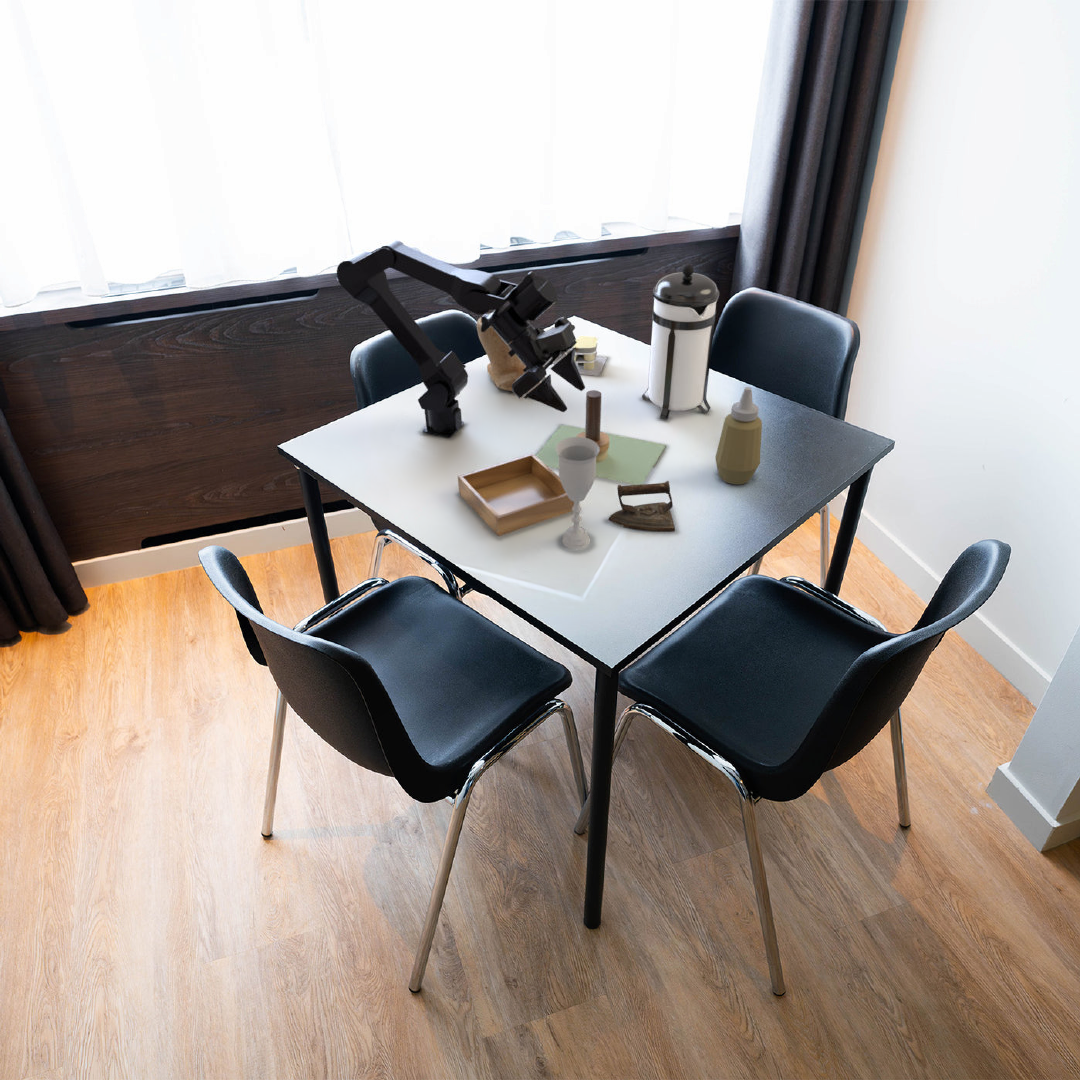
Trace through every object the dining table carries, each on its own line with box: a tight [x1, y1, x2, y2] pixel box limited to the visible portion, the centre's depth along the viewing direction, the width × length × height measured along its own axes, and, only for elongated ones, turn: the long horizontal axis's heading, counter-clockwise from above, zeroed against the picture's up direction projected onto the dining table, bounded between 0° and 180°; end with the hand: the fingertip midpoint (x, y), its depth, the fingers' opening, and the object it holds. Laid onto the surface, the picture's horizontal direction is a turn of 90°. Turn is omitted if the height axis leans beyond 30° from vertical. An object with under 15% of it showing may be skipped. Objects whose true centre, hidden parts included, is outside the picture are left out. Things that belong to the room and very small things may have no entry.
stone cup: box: [476, 312, 526, 392], centre depth 185 cm, size 15×12×15 cm
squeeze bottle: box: [714, 386, 763, 485], centre depth 151 cm, size 8×8×18 cm
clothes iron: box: [608, 480, 676, 533], centre depth 143 cm, size 7×11×10 cm, turn 92°
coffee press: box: [641, 263, 720, 421], centre depth 171 cm, size 17×16×30 cm
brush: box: [576, 389, 609, 463], centre depth 158 cm, size 6×6×13 cm
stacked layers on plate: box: [570, 335, 608, 377], centre depth 194 cm, size 10×9×6 cm
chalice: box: [556, 437, 600, 550], centre depth 135 cm, size 7×7×18 cm
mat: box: [535, 424, 667, 485], centre depth 163 cm, size 22×16×1 cm
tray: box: [457, 452, 574, 537], centre depth 149 cm, size 15×15×4 cm
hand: (574, 399), depth 157 cm, fingers open, 9 cm apart
